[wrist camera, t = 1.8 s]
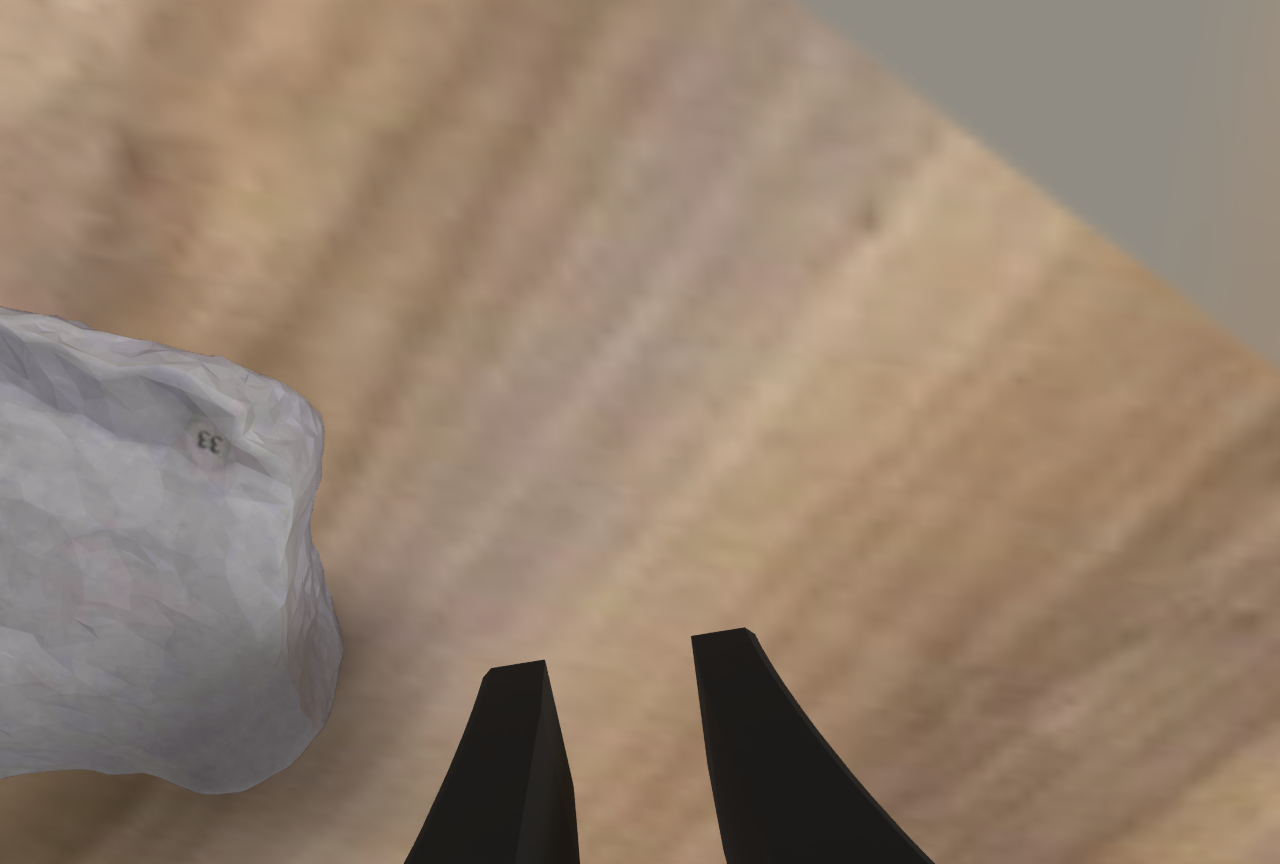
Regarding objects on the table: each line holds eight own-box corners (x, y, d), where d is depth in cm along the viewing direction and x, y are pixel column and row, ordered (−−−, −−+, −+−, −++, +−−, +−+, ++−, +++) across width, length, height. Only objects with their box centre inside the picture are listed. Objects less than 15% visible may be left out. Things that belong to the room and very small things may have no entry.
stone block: (-298, 223, 19) (-222, 693, 21) (-548, 256, 14) (-410, 846, 17) (358, 275, 21) (347, 695, 23) (324, 317, 16) (318, 832, 19)
